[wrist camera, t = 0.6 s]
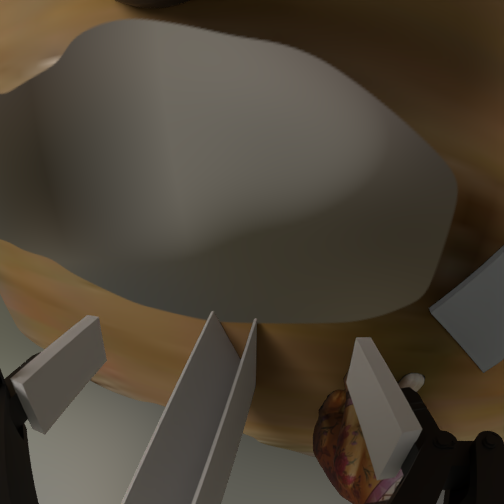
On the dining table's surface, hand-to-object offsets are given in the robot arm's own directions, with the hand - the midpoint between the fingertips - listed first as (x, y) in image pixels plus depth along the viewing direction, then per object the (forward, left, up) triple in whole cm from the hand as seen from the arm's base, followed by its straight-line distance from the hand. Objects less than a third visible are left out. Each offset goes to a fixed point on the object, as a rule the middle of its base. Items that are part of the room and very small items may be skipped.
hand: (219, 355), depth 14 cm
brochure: (+20, -1, -17) cm, 26 cm away
